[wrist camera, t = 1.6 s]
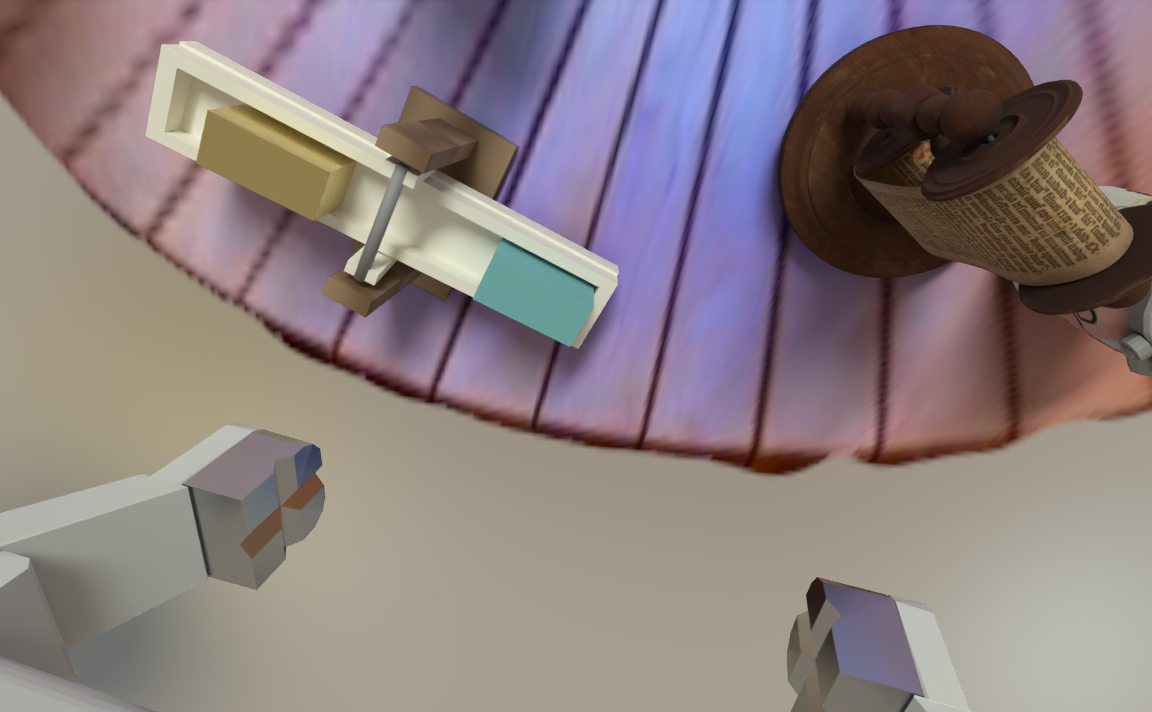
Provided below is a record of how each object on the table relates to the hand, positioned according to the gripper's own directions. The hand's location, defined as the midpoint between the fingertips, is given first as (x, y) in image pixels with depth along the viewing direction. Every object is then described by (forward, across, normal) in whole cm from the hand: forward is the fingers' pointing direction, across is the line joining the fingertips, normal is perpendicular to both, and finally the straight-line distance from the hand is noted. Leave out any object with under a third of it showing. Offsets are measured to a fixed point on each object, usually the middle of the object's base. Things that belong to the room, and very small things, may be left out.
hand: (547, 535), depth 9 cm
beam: (+30, +18, +4) cm, 36 cm away
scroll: (+37, -12, -4) cm, 39 cm away
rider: (+31, +9, +7) cm, 33 cm away
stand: (+34, +18, +4) cm, 38 cm away
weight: (+27, +24, +1) cm, 37 cm away
